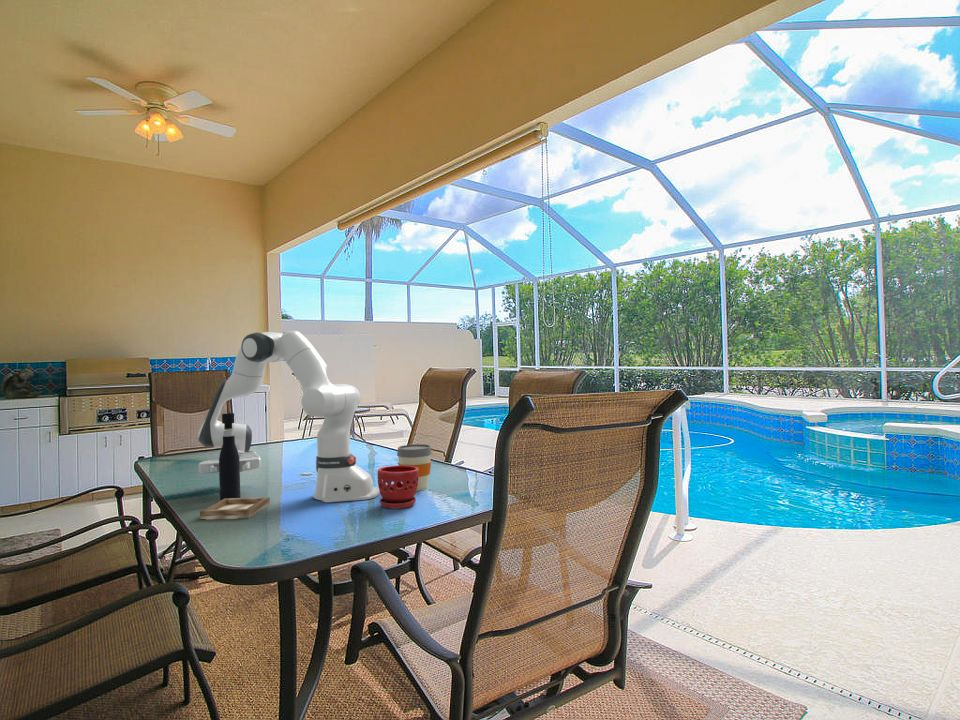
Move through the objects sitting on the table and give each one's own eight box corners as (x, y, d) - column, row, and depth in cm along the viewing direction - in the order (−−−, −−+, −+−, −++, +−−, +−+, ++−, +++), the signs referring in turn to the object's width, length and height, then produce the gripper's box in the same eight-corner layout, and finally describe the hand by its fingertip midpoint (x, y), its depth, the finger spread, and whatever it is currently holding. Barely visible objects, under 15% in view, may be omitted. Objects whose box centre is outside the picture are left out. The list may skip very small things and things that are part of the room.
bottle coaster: (269, 505, 173) (269, 497, 173) (249, 518, 158) (248, 510, 158) (225, 506, 174) (224, 498, 174) (200, 519, 159) (199, 511, 159)
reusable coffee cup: (430, 491, 186) (429, 449, 186) (395, 492, 186) (394, 450, 186) (434, 483, 198) (433, 443, 198) (401, 484, 198) (400, 444, 198)
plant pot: (414, 511, 162) (412, 472, 162) (372, 510, 163) (371, 472, 163) (423, 499, 175) (422, 463, 175) (385, 499, 176) (384, 464, 176)
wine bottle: (244, 499, 182) (242, 412, 182) (230, 504, 176) (228, 414, 176) (230, 498, 184) (228, 412, 184) (215, 502, 178) (213, 414, 178)
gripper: (199, 456, 190) (195, 462, 177) (260, 450, 198) (261, 456, 185) (199, 473, 190) (196, 481, 177) (260, 467, 198) (261, 474, 185)
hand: (229, 468), depth 181 cm, fingers open, 8 cm apart
